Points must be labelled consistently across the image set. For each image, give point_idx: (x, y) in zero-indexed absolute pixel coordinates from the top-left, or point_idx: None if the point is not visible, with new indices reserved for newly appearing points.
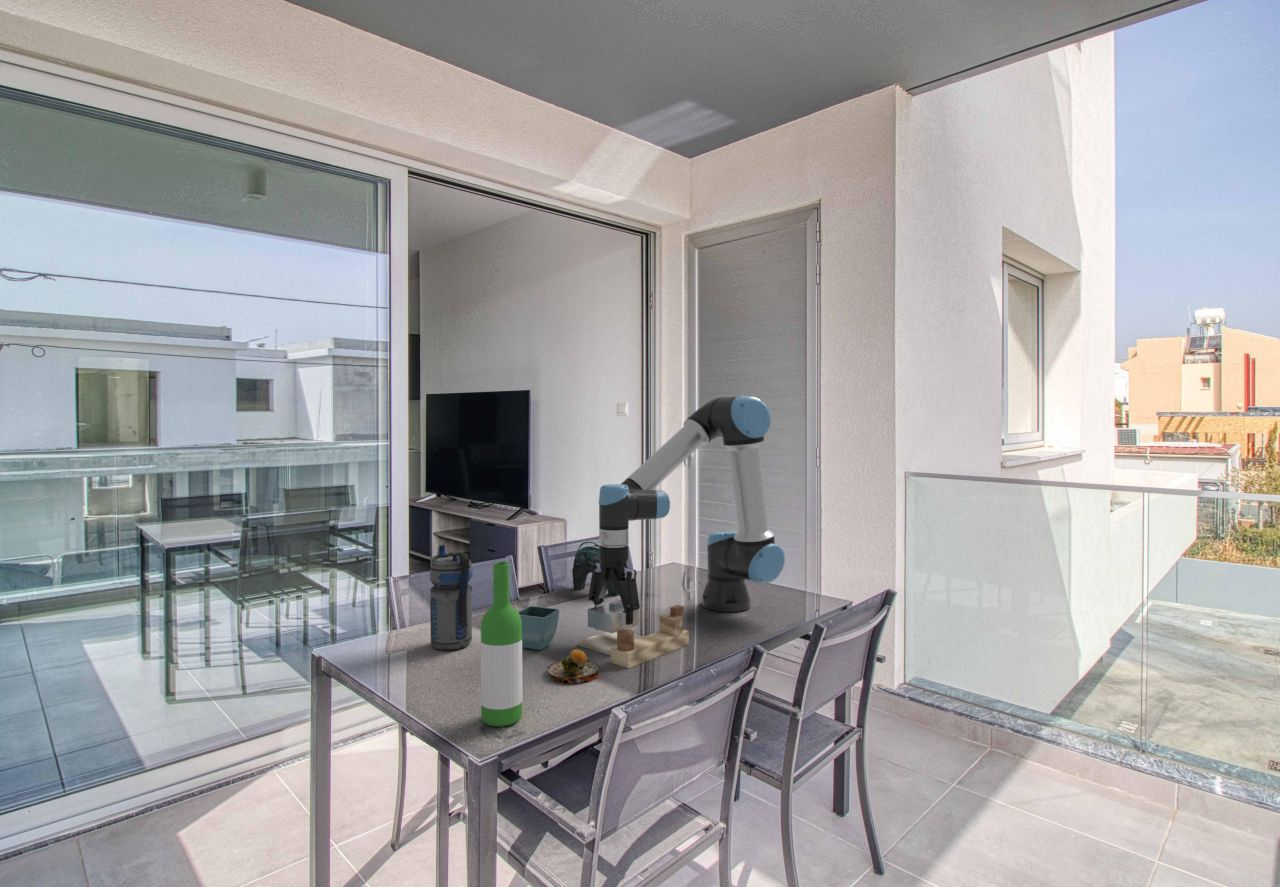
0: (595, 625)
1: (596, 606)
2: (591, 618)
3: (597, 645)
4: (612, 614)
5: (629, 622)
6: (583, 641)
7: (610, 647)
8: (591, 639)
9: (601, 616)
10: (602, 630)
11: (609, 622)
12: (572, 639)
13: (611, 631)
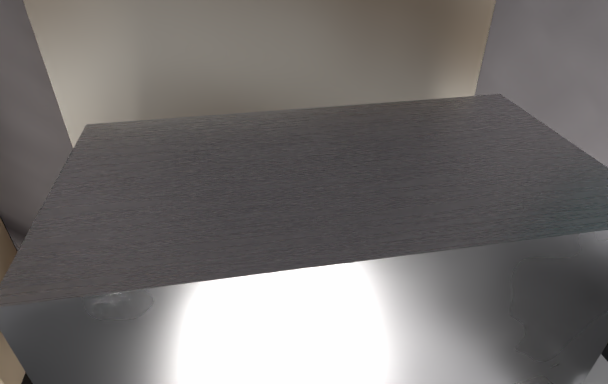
0: (388, 120)
1: (604, 369)
2: (500, 150)
3: (276, 22)
4: (54, 346)
5: (24, 381)
6: (452, 8)
7: (146, 71)
8: (425, 95)
9: (307, 218)
10: (255, 114)
11: (99, 197)
12: (590, 42)
13: (82, 135)
